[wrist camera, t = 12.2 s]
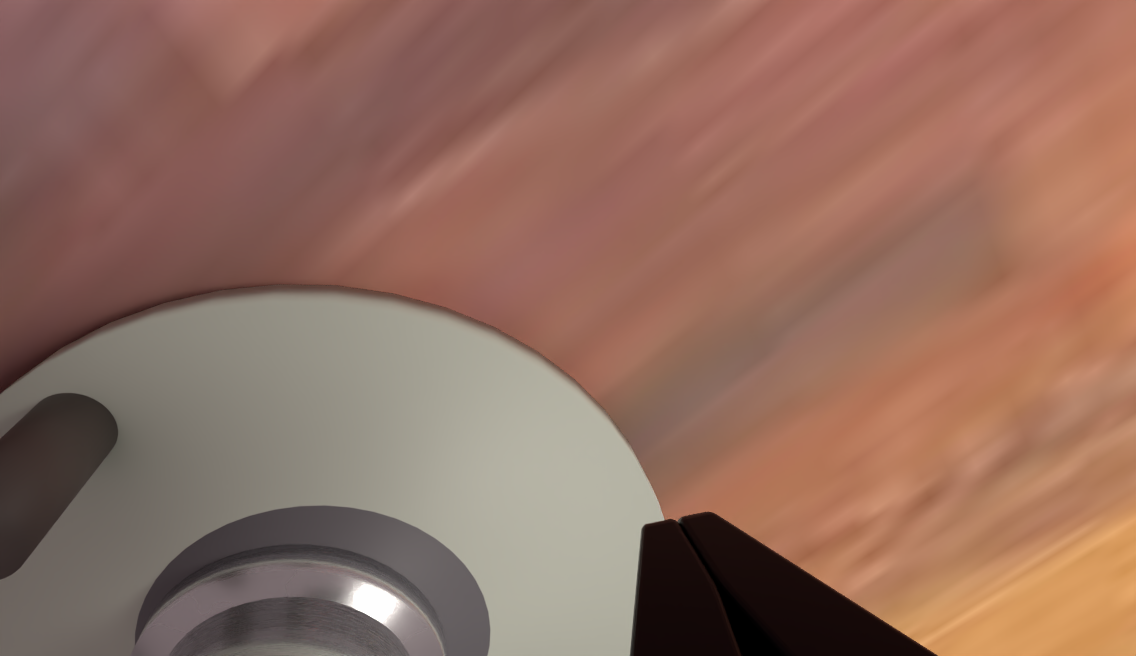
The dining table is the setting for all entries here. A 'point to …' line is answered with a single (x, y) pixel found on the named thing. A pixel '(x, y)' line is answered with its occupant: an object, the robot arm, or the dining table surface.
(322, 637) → the cover cap
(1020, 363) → the dining table surface
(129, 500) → the turntable
